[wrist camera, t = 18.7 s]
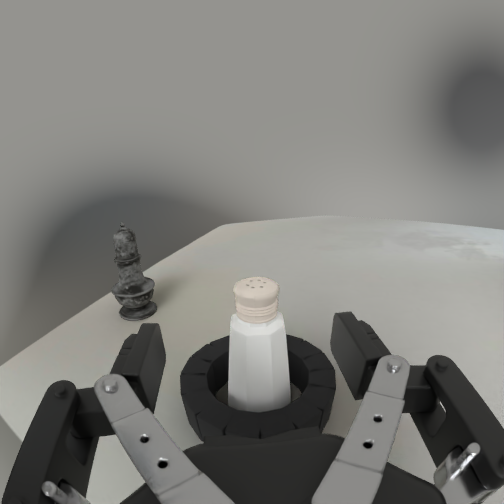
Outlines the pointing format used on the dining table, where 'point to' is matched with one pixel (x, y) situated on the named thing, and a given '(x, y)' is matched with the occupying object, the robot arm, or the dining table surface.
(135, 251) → the grey chess piece
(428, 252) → the dining table surface
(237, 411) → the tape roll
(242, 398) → the pepper shaker
